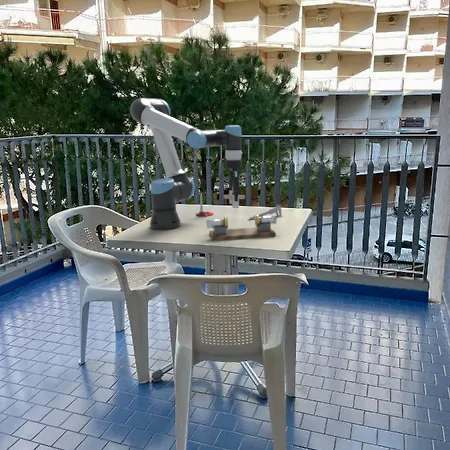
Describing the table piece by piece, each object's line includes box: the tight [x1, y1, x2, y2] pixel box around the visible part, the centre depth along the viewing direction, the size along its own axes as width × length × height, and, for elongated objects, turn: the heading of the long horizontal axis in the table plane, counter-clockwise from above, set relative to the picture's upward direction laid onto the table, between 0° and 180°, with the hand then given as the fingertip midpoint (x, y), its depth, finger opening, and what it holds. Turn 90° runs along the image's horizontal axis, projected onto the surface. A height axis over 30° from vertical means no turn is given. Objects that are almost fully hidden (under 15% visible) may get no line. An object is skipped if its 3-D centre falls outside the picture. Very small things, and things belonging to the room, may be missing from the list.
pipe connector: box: [223, 187, 246, 208], centre depth 203 cm, size 10×10×10 cm
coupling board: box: [208, 226, 277, 242], centre depth 190 cm, size 28×12×2 cm, turn 98°
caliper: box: [247, 204, 282, 221], centre depth 222 cm, size 20×1×6 cm, turn 117°
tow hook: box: [195, 192, 214, 217], centre depth 234 cm, size 8×13×9 cm
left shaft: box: [206, 216, 229, 235], centre depth 187 cm, size 9×6×7 cm, turn 98°
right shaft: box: [254, 214, 277, 232], centre depth 190 cm, size 9×6×7 cm, turn 98°
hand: (234, 205), depth 204 cm, fingers closed on pipe connector, 10 cm apart
